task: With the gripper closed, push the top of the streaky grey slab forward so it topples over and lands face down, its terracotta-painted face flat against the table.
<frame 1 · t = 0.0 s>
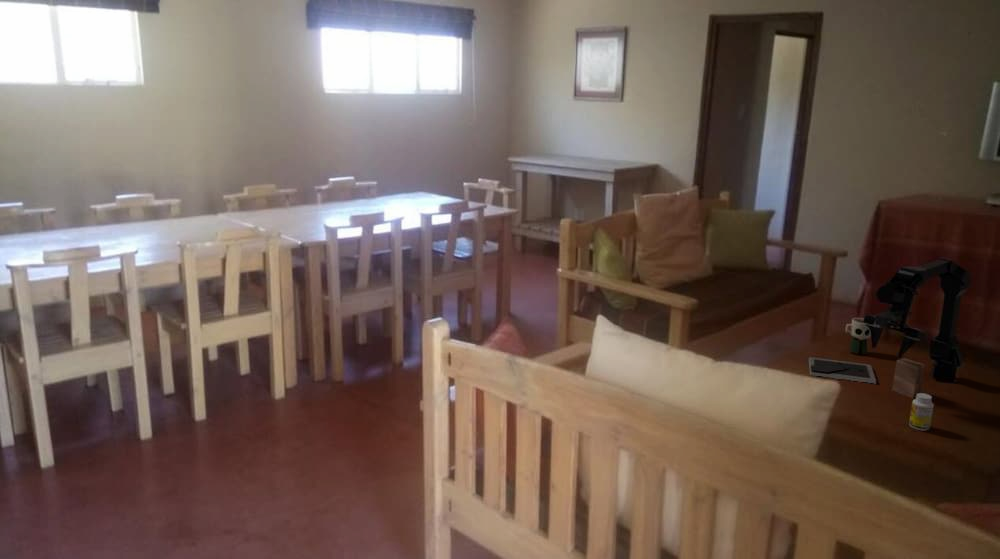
hand: (886, 352, 239), 15 cm above the table, tool pointing down, fingers open, 9 cm apart
picture frame: (840, 374, 264), on the table
character mug: (857, 353, 284), on the table
streaky grey slab: (905, 393, 246), on the table
supplement bottle: (918, 427, 222), on the table
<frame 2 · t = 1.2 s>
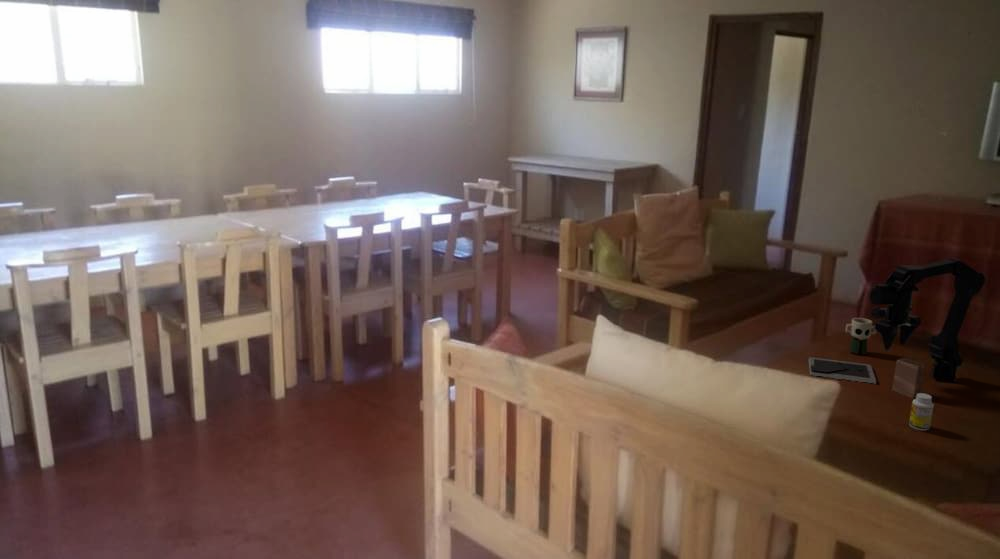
hand: (894, 347, 252), 13 cm above the table, tool pointing down, fingers open, 9 cm apart
nothing on the table moved.
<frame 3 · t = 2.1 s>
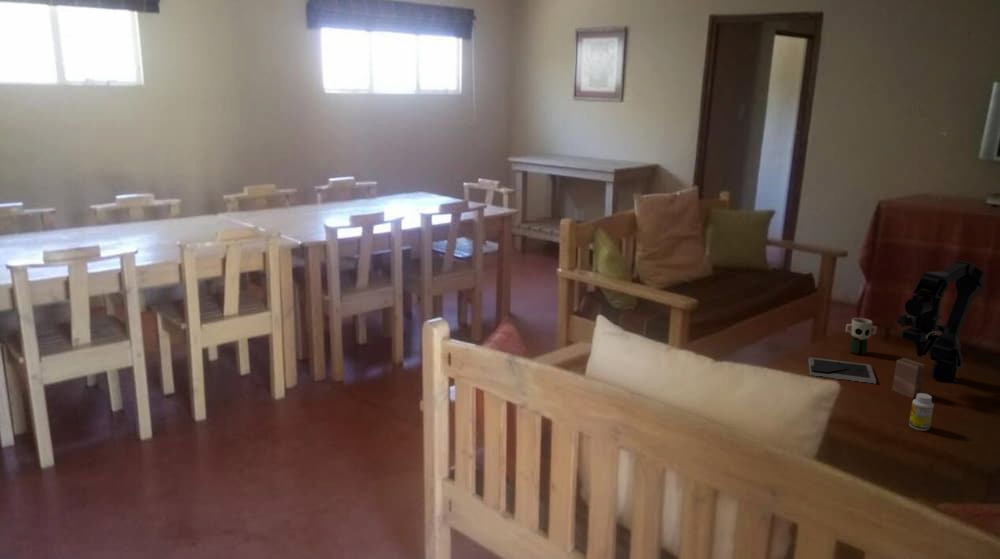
hand: (921, 355, 247), 12 cm above the table, tool pointing down, fingers closed
nothing on the table moved.
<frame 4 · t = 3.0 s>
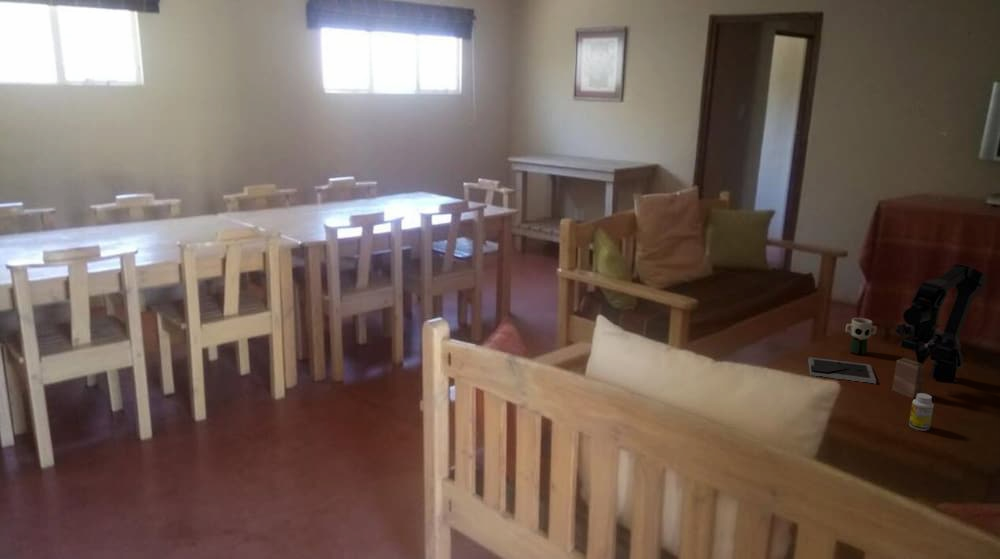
hand: (920, 364, 248), 9 cm above the table, tool pointing down, fingers closed
nothing on the table moved.
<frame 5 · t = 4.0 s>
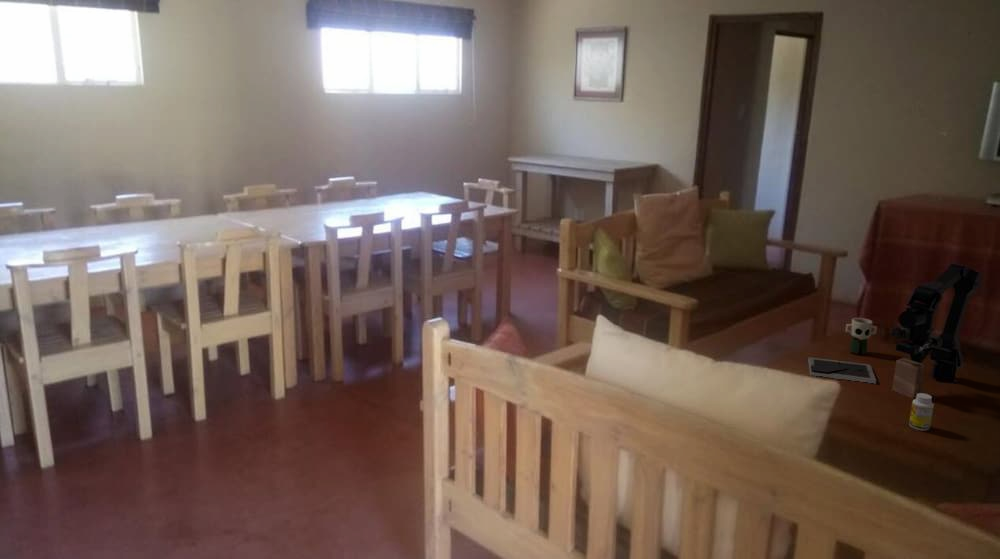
hand: (915, 368, 246), 8 cm above the table, tool pointing down, fingers closed
streaky grey slab: (905, 393, 246), on the table, touching gripper
everything else where it was.
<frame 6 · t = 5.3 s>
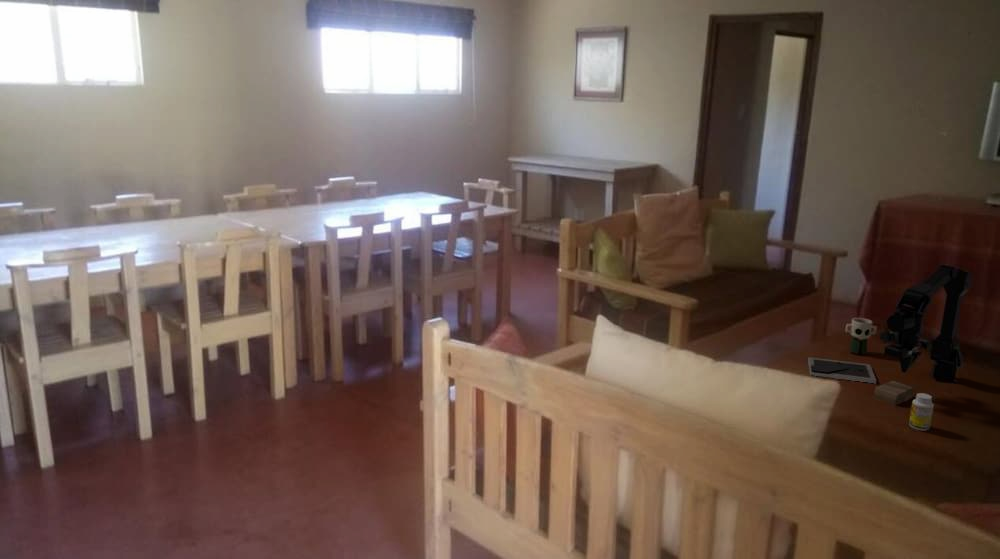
hand: (904, 372, 243), 8 cm above the table, tool pointing down, fingers closed
streaky grey slab: (902, 389, 245), point 2 cm above the table, tilted 90°
everything else where it was.
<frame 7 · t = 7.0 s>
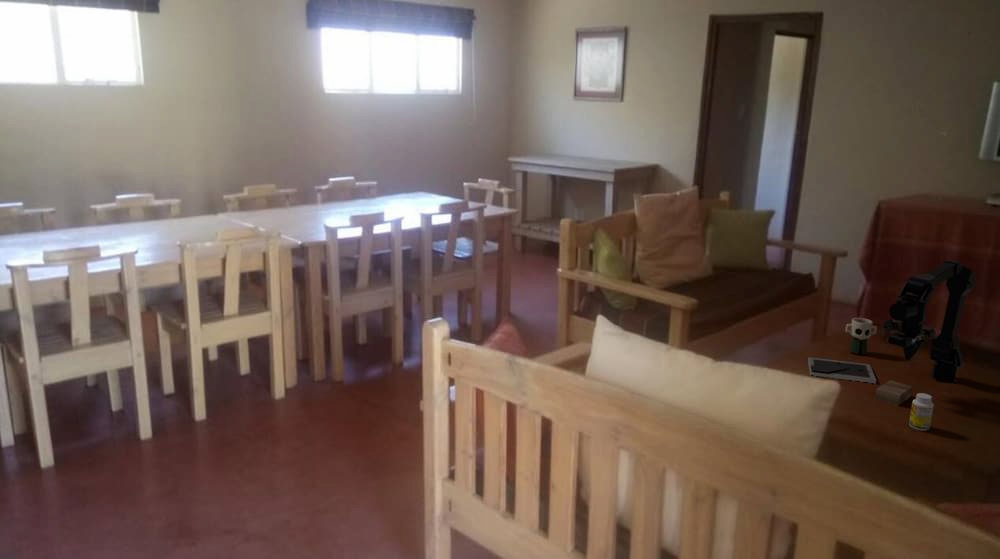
hand: (907, 360, 244), 12 cm above the table, tool pointing down, fingers closed
nothing on the table moved.
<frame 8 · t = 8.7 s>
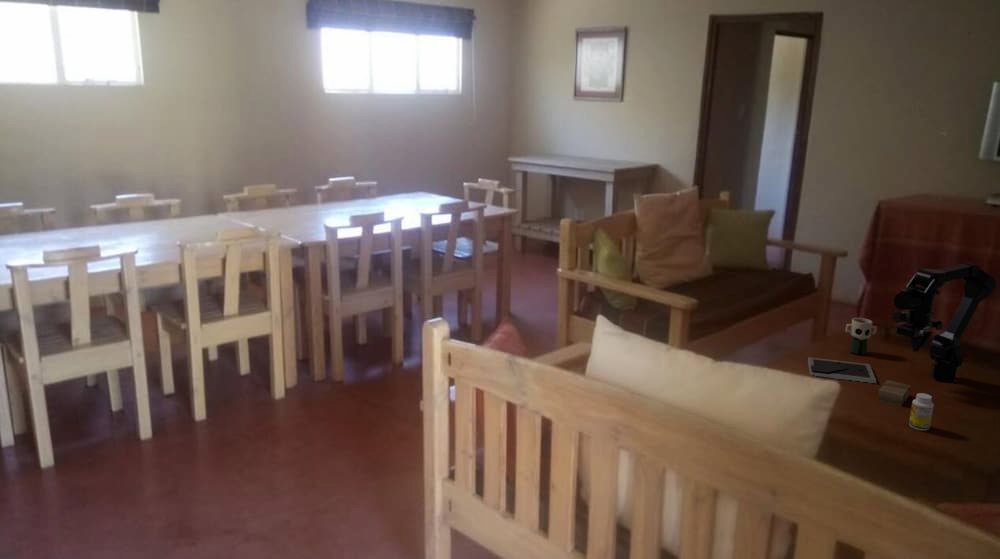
hand: (915, 351, 251), 12 cm above the table, tool pointing down, fingers closed
nothing on the table moved.
at the end: streaky grey slab tilted 90°; streaky grey slab 3.4 cm from the target spot, point 1.6 cm above the table; the gripper is holding nothing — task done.
